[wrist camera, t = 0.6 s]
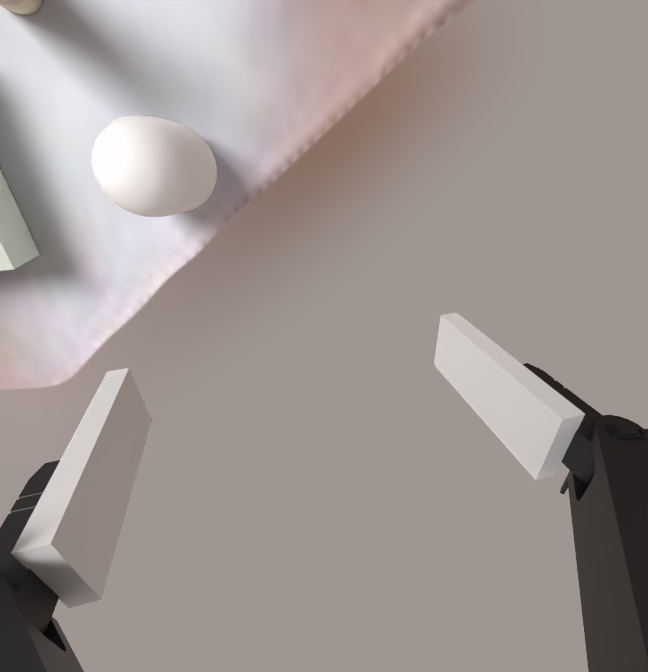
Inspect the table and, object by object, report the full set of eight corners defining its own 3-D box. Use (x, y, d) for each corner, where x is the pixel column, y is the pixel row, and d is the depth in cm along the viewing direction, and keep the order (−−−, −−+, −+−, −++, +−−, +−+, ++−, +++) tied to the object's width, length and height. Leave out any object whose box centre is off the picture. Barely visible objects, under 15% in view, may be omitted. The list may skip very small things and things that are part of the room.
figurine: (122, 114, 29) (61, 98, 18) (215, 125, 30) (207, 115, 20) (136, 203, 32) (92, 230, 22) (220, 208, 34) (215, 235, 24)
